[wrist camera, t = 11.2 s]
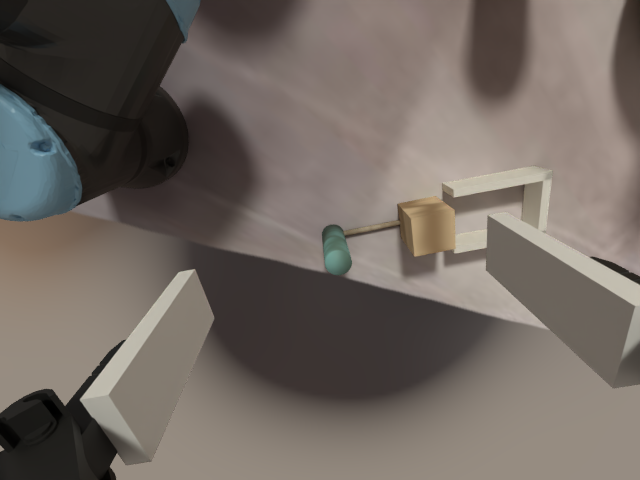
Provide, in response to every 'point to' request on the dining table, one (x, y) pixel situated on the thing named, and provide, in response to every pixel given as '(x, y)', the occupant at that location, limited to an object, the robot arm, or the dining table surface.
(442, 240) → the corded oak block
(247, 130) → the dining table surface
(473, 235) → the rail lane
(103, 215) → the dining table surface
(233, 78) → the dining table surface
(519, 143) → the dining table surface
